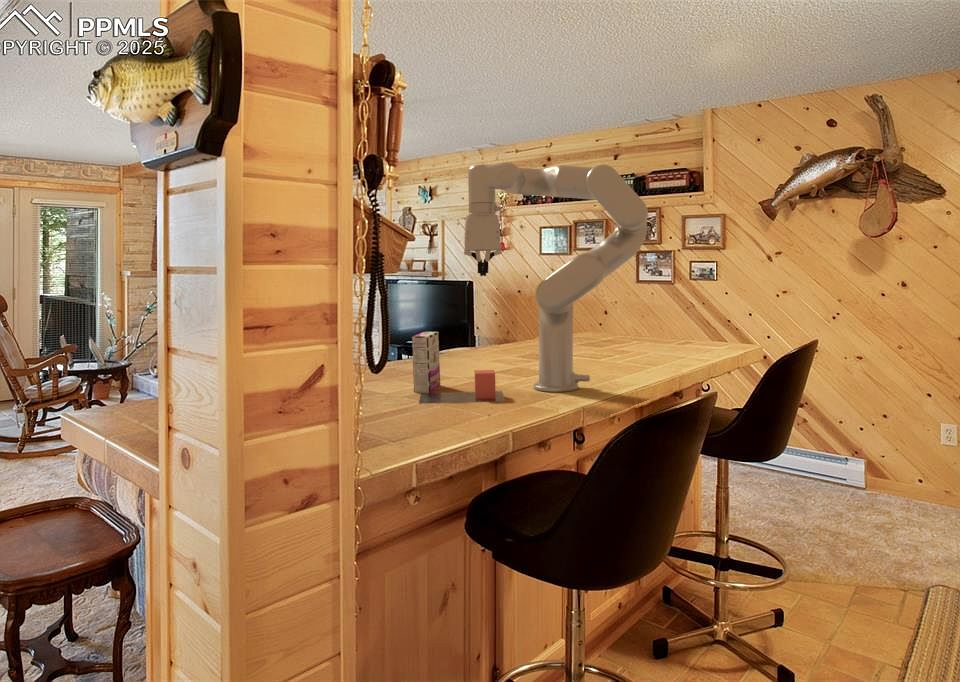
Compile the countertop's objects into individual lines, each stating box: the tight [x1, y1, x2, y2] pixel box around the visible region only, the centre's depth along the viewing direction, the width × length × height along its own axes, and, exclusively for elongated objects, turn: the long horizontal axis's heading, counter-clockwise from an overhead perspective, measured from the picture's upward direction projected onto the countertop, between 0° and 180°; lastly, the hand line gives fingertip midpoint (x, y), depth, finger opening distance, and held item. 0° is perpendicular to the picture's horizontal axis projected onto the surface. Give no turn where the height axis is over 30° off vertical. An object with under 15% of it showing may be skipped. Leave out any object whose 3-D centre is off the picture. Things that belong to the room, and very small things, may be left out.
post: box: [418, 390, 506, 405], centre depth 171 cm, size 22×13×6 cm, turn 93°
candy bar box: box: [411, 331, 441, 394], centre depth 183 cm, size 11×5×16 cm, turn 168°
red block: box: [474, 369, 496, 399], centre depth 171 cm, size 5×5×7 cm
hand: (483, 275), depth 185 cm, fingers closed
